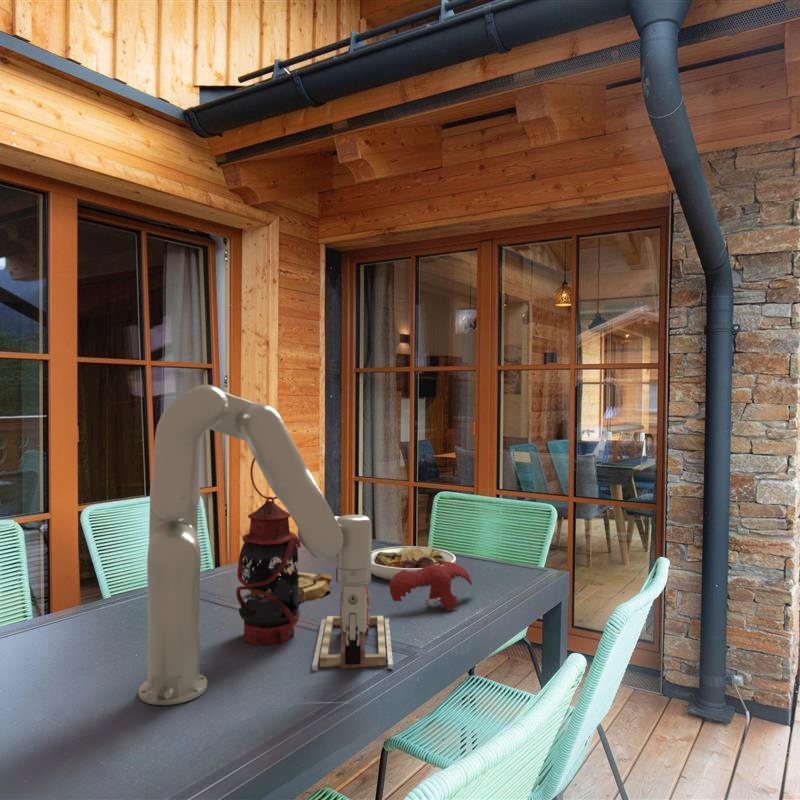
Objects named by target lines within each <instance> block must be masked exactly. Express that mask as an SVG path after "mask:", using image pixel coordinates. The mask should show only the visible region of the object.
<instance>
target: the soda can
mask: <svg viewBox="0 0 800 800" xmlns="http://www.w3.org/2000/svg"><path fill="white" fill-rule="evenodd" d="M366 587H367V623H366V632H365V635H366V634H367V633H369V630H370V626H369V616H371V615H370V613H371V612H370V599H371V598H370V590H369V588H368V584H366ZM339 603H340V604H339V605H340V607H339V608H340V609H339V610H340V611H339V613H340V614H339V616H340V626H339V627H340V633H341V632H342V630H343V622H342V596H341V595H340V600H339Z"/></svg>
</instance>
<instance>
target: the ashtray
mask: <svg viewBox="0 0 800 800" xmlns="http://www.w3.org/2000/svg"><path fill="white" fill-rule="evenodd" d="M289 570H290V571H289ZM285 571H286V570H285V568H284V572H285ZM291 571H292V570H291V569H290V567H289V568H288V569H287V571H286V572H285V573H287V572H289V574H291ZM297 573H298V583H299V603H300V602H301V603H304V602H303V601H306V602H309V601H308V600H310V601H313V600H312V599H314V600H317V598H318V599H322V597H324V596H325V595H326V594H327V592H329V593H331V590H332V589H331V587H330V583H331V581H333V577H332V575H330V574H328V573H327V574H326V573H321V572H320V573H318V574H316V573H309V572H298V571H297ZM278 575H280V576H281V574H280V573H279V574H278ZM279 580H280V579H279ZM270 591H271V590H270V589H269V591H266V592H268V593H271V592H270ZM291 593H292V592H291ZM256 594H257V593H254V592H252V591H250V595H251V597H252V596H253V597H254V596H256ZM272 594H273V593H272ZM291 595H292V594H291ZM293 595H294V594H293ZM293 595H292V596H293ZM263 596H265V595H262V594H260V598H261V597H263ZM258 597H259V594H258ZM274 597H275V598H276V595H275V596H274ZM277 599H278V598H277ZM297 602H298V601H297Z"/></svg>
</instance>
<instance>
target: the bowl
mask: <svg viewBox="0 0 800 800" xmlns="http://www.w3.org/2000/svg"><path fill="white" fill-rule="evenodd" d="M445 562H452V563H455V564H457V557H456V556H455V554H454V553H452V552H451V551H450V552H449V551H447V550H443V549H438V548H435V547H429V546H427V547H425V546H409V545H408V546H391V547H384V548H378V549H375V550H374V549H373V550H371V575H374V576H375V577H379V578H381V579H385V580H388V581H391V579H392V578H393V577H394V576H395V575H396V574H397V573H399V572H401V571H402V570H407V571H418V570H421V569H423V568H424V567H426V566H431V565H439V566H443V565H444V563H445Z"/></svg>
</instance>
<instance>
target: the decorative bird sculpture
mask: <svg viewBox="0 0 800 800" xmlns="http://www.w3.org/2000/svg"><path fill="white" fill-rule="evenodd" d="M456 578H458V579H459V578H461V579H465V581H467V582H468V583H469V585H470V586H472V585H473V582H472V579H471V577H470V574H469V573H468V572H467V570H466V569H465V568H464V567H463V566H461V565H459V564H457V563H456V564H455V563H452V562H445V563H444V565H443V566H439V565H431V566H426V567H424V568H423V569H421V570H418V571H407V570H402V571H401V572H399V573H397V574H396V575H395V576H394V577H393V578H392V579H391V580H389V581H390V582H389V593H390V595H391V598H392V600H393V601H394V602H403V600H402V598H401V597H404V598H406V596H407V595H406V593H408V594H411V593H412V589H413V590H415V589H416V586H418V587H421V585H422V586H425V584H426V585H429V586H430V588H429V589H430V590H429V595H428V598H426V599H424V602H426V603H427V604H428V603H429V601H430V600H435V601H437V602H438V603H439V602H440V606H443V605H444V606H443V608H446V609H445V611H449V610H450V611H451V612H453V609H456V606H457V604H458V603H457V602H458V601H459V599H457V598H458V596H457V595H454V594H453V593H452V589H451V587H452V579H456ZM439 598H440V599H439ZM437 599H439V600H437Z"/></svg>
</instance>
